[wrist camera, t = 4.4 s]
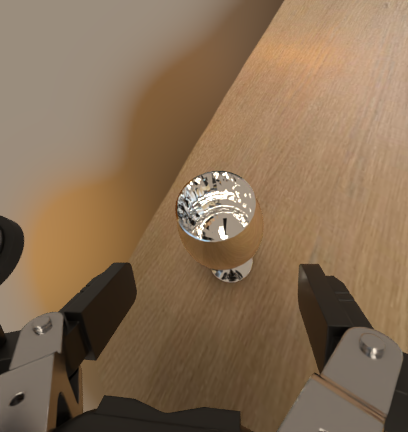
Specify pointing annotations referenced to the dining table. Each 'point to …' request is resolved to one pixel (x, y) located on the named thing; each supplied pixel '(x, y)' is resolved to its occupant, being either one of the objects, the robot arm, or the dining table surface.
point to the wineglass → (220, 223)
